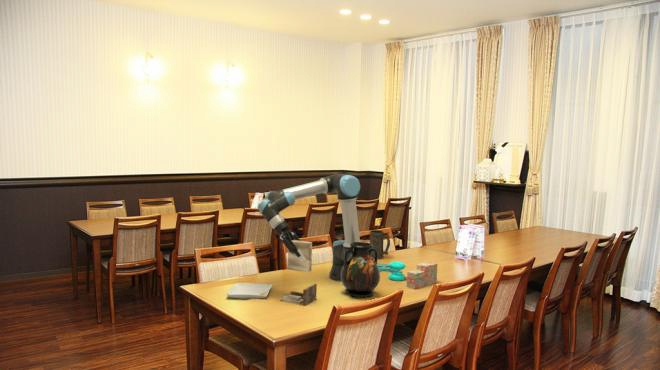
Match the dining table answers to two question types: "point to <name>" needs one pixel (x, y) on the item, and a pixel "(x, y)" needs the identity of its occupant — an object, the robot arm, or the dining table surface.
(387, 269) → the alien figure
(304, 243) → the birch board
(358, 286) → the amphora vase
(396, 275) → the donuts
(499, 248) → the dining table surface
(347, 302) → the dining table surface
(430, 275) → the stack of blocks
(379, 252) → the beer stein
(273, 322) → the dining table surface
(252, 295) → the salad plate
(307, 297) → the walnut rack
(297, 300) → the offcut stack
